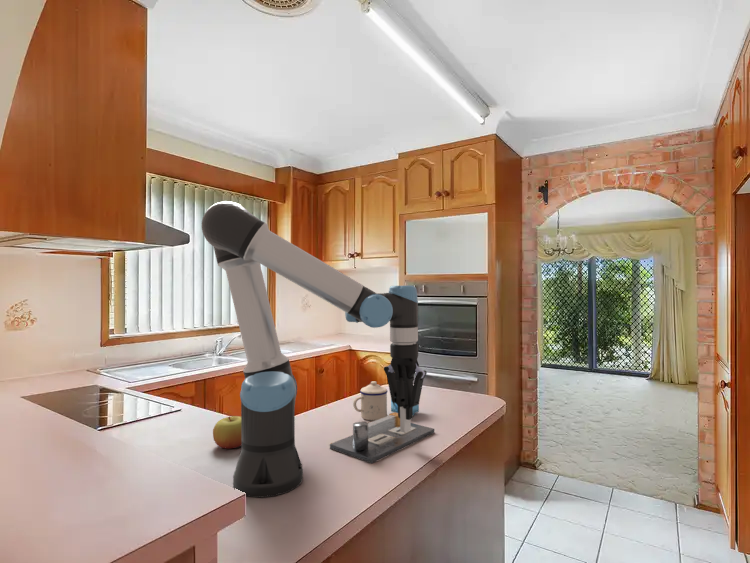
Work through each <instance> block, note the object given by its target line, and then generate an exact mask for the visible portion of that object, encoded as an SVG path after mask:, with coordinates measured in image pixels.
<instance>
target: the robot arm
mask: <svg viewBox="0 0 750 563" xmlns="http://www.w3.org/2000/svg"><path fill="white" fill-rule="evenodd" d="M201 230H202V234H203V237H204V239H205V240H206V241H207V242H208V244H210V245H211V246H212V247H213V250H214V255H215V259H216V263H217V266H218V267H219V268H221V269H223V270H224V271H225V273H226V278H227V282H228V285H229V290H230V293H231V294H230V295H231V298H232V302H233V307H234V312H235V316H236V319H237V322H238V323H237V324H238V327H239V328H238V329H239V332H240V337H241V340H242V345H243V349H244V352H245V356H246V361H247V362H246V365H245V367H244V369H243V370H242V371H243V372H242V373H243V376H244V380H243V381H242V383H241V388H240V389H241V390H240V392H239V397H240V410H241V411H240V417H241V446H240V447H241V448H240V449H241V450H240V454H239V457H238V460H237V463H236V466H235V470H234V472H233V476H232V479H233V483H232V484H233V486H232V487H233V489H234V488H236V489H238V490H240V491H242V492H245V493H246V497H250V498H268V497H274V496H278V495H283V494H285V493H289V492H290V491H292V490H294V489H296V488H298V486H299V485H300V484H301V483H302V481H303V479H304V469H303V464H302V461H301V458H300V456H299V453H298V450H297V447H296V443H295V442H296V441H295V440H296V438H295V434H296V433H295V432H296V430H295V429H296V428H295V425H296V424H295V422H296V421H295V420H296V419H295V408H296V407H295V405H296V398H297V394H298V384H297V380H296V378H295V375H293V370H292V366H291V363H290V359H289V357H288V356H287V355H284V354H283V353H282V350H281V346H280V342H279V338H278V334H277V330H276V325H275V321H274V316H273V313H272V308H271V303H270V301H269V296H268V292H267V288H266V283H265V278H264V275H263V271H262V266H264V267H266V268H268V270H271V271H273V272H275V273H276V274H278V275H280V276H281V277H283V278H285V279H286V280H288V281H290V282H292V283H294V284H295V285H297V286H298V287H301V288H303V289H304V290H306V291H308V292H309V293H311V294H313V295H314V296H316V297H318V298H320V299H321V300H323V301H325V302H327V303H329V304H331V305H332V306H334V307H336V308H338V309H339V310H341V311H343V312H344V316H345V320H346V321H347V322H348V323H357V324H358V323H363V324H364V325H366V326H368V327H369V328H374V329H375V328H376V329H377V328H382V327H384V326H386V325H387V324H388V323H389V340H390V345H389V347H390V348H389V353H390V354H389V356H390V357H391V360H390V363H389V364H388V365H387V366H384V367H383V371H384V372H385V376H386V379H387V385H388V390H389V395H390V401H391V400H392V402H393V403H396V404H397V406H398V417H399V418H400V432H404V433H405V432H407V431H410V430H411V423H412V419H413V417H414V415H413V406H416V405H418V404H419V405H420V399H421V395H422V389H423V384H424V379H425V377H426V376H427V374H428V372H427V370H425V369H424V370H423V369H422V368H421V367H420V364H419V362H418V358H419V344H418V341H419V326H418V321H419V320H418V317H419V316H418V309H419V308H418V307H419V305H418V304H419V301H418V290H417V287H416V286H415V285H391V286H390V287H389V288H388V292H383V293H382V292H380V293H377V292H375V291H373V290H371V289H370V288H368V287H366V286H364V285H363V284H362V283H360V282H358V281H357V280H355V279H353V278H351V277H350V276H348V275H346V274H345V273H343V272H340V271H339V269H336V268H334V267H333V266H330V264H327V263H325V262H324V261H322V260H321V259H319V258H317V257H315V256H314V255H312V254H310V253H309V252H307V251H305V250H304V249H302V248H300V247H299V246H297V245H295V244H293V243H292V242H290V241H289V240H286V239H285V238H283V237H281V236H279V235H278V234H276V233H275V232H273V231H271V230H270V229H269V225H268V223H266V222H265V221H263V220H261V219H260V218H258V217H257V216H255V215H254V214H252V213H251V212H250V211H249V210H248V209H247V208H245V207H244V206H243V205H242V204H240V203H237V202H233V201H227V200H224V201H220V202H219V201H218V202H216V203H214V204H213V205H211V206H210V207H209V208H208V209H206V211H205V212H204V213H203V217H202V220H201ZM261 265H262V266H261Z"/></svg>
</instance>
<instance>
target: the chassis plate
mask: <svg viewBox="0 0 750 563" xmlns="http://www.w3.org/2000/svg"><path fill="white" fill-rule="evenodd" d="M433 434H435V428H432V427H429V426H426V425H425V426H424V425H421V424H416V423H413V422H411V430H410V431H407V432H405V433H404V432H400V427H395V428H392V429H390V430H387V431H385V432H383V433H380V434H378V435H375V436H373V437H371V438H368V449H366V450H355V449H354V448H353V434H352V435H349V436H347V437H345V438H341V439H339V440H337V441H334V442H331V443H330V444H329V449H331V450H333V451H336V452H337V453H338V452H340V453H342V454H344V455H347V456H350V457H352V458H353V457H354V458H356V459H358V460H362V461H365V462H367V463H369V464H374V463H376V462H378V461H380V460H382V459H384V458H386V457H388V456H390V455H392V454H394V453H396V452H398V451H401V450H402V449H404V448H406V447H408V446H410V445H413V444H414V443H416V442H419V441H420V440H422V439H425V438H427V437H429V436H430V435H433Z"/></svg>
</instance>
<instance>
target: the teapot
mask: <svg viewBox="0 0 750 563" xmlns="http://www.w3.org/2000/svg"><path fill="white" fill-rule="evenodd" d="M390 406H391V407H390V412H392V413H393V412H396V413H398V406H397V404H396V403H393V402H392V400H391V399H390ZM419 406H420V403H419V404H418V405H416V406H413V416H415V413H419V412H420V408H419Z"/></svg>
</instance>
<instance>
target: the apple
mask: <svg viewBox="0 0 750 563" xmlns="http://www.w3.org/2000/svg"><path fill="white" fill-rule="evenodd" d="M212 438H213V441H214V443H215V444H216V445H217V447H220V448H221V449H224V450H225V449H226V450H229V449H236V448H239V447H242V446H241V415H240V416H239V415H235V416H233V415H232V416H226V417H222V419H219V420H218V421H217V422H216V423H215V425H214V427H213V429H212Z"/></svg>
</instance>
